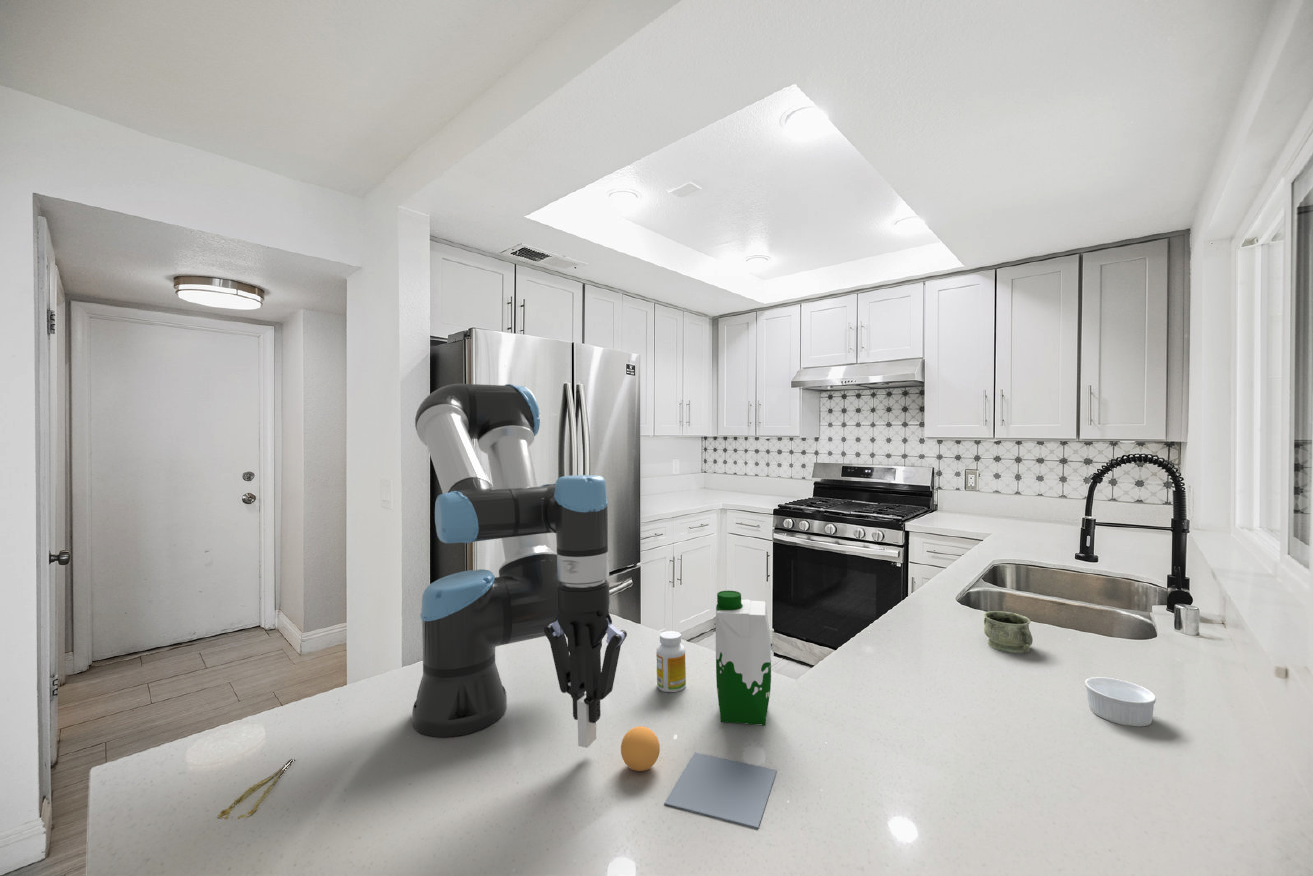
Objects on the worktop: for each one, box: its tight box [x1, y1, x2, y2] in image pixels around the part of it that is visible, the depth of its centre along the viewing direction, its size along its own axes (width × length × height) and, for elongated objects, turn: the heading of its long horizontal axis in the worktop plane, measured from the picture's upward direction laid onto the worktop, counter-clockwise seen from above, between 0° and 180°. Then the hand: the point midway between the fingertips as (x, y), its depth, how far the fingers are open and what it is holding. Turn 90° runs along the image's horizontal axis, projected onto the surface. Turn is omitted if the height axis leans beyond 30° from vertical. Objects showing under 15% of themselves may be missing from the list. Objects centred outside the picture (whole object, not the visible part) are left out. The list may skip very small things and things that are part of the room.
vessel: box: [983, 610, 1033, 654], centre depth 119 cm, size 12×9×6 cm
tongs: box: [218, 758, 296, 820], centre depth 75 cm, size 4×13×2 cm, turn 7°
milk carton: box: [715, 590, 772, 726], centre depth 92 cm, size 9×9×20 cm
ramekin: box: [1084, 676, 1157, 728], centre depth 90 cm, size 9×9×4 cm
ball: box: [620, 726, 661, 772], centre depth 78 cm, size 6×6×6 cm
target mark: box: [664, 751, 778, 830], centre depth 73 cm, size 12×12×1 cm
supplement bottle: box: [655, 630, 687, 693], centre depth 103 cm, size 5×5×10 cm
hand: (587, 742), depth 81 cm, fingers closed
